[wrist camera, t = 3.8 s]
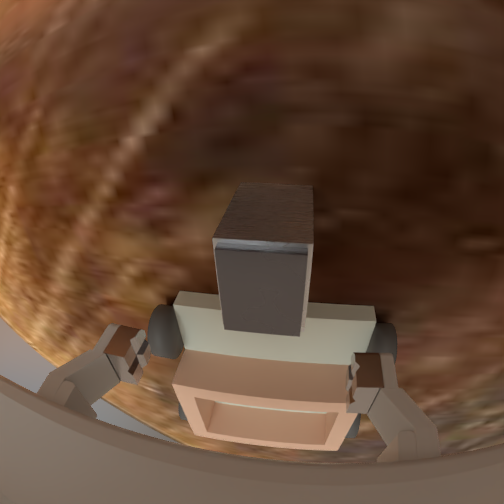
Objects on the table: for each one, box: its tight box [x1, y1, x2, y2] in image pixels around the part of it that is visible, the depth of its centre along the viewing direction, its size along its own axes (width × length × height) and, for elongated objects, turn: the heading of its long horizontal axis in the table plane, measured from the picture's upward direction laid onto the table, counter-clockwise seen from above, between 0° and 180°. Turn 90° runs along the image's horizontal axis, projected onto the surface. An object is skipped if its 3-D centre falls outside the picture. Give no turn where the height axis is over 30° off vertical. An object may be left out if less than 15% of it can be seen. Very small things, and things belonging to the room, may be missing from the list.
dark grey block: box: [212, 182, 314, 337], centre depth 16 cm, size 5×4×6 cm
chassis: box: [148, 291, 397, 451], centre depth 25 cm, size 16×17×5 cm
